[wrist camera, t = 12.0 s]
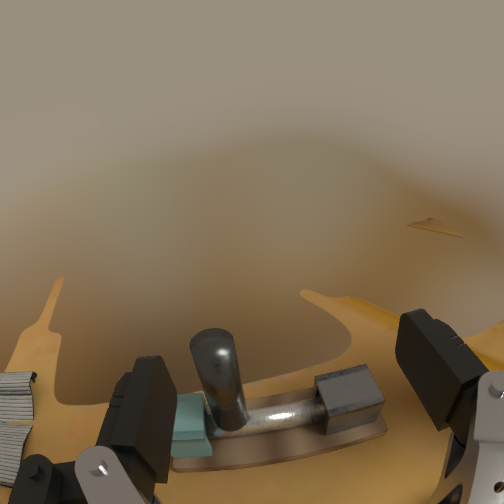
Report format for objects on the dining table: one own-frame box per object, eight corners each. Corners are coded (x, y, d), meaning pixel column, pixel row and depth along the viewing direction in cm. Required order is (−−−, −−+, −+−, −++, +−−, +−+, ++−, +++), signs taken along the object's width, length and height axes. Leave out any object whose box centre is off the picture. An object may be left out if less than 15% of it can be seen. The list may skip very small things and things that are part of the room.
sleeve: (359, 386, 38) (365, 363, 35) (376, 421, 32) (385, 400, 30) (312, 398, 37) (314, 376, 35) (325, 435, 31) (329, 416, 29)
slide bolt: (330, 399, 36) (343, 306, 29) (339, 423, 32) (359, 332, 25) (180, 422, 35) (140, 335, 27) (180, 447, 31) (134, 365, 24)
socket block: (209, 413, 36) (202, 392, 34) (212, 455, 30) (203, 438, 28) (174, 415, 36) (163, 395, 34) (173, 457, 30) (160, 440, 28)
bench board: (359, 381, 40) (361, 375, 39) (385, 434, 31) (387, 429, 30) (177, 412, 38) (174, 406, 37) (176, 472, 29) (172, 468, 28)
